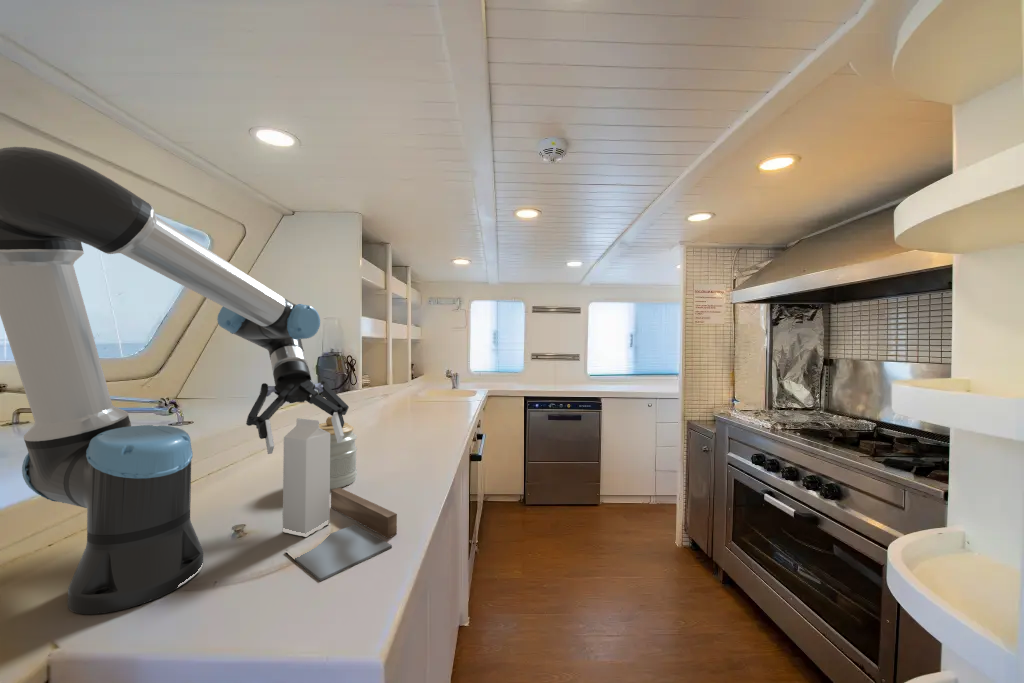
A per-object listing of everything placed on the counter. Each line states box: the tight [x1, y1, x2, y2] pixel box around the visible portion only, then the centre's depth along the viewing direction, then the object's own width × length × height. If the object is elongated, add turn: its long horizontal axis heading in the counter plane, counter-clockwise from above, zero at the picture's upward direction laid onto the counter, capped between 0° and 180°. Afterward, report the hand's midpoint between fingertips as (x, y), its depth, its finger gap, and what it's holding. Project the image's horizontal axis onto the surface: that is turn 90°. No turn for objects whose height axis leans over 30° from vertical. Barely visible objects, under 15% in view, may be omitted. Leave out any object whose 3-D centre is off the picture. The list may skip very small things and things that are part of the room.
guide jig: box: [294, 487, 398, 582], centre depth 75 cm, size 16×26×4 cm, turn 52°
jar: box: [319, 415, 358, 490], centre depth 104 cm, size 13×13×18 cm
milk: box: [282, 418, 331, 534], centre depth 78 cm, size 6×6×22 cm
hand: (307, 444), depth 83 cm, fingers open, 13 cm apart
